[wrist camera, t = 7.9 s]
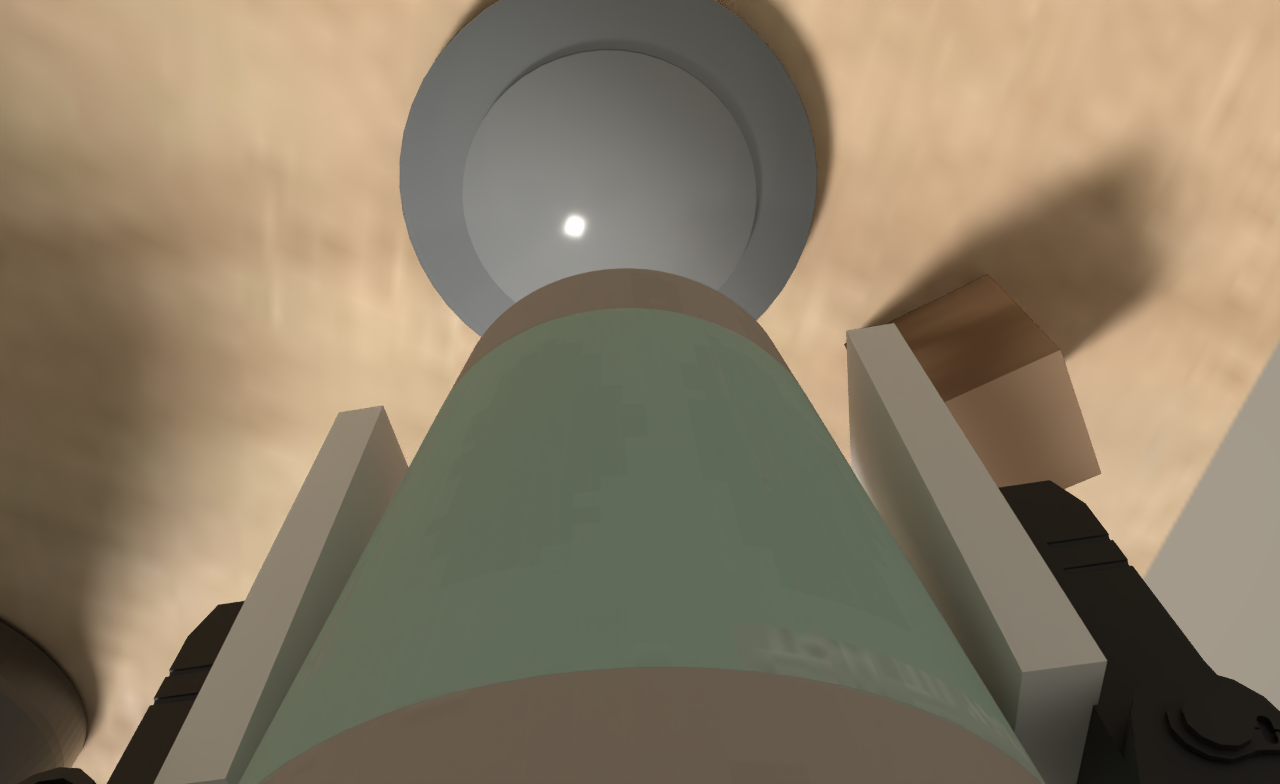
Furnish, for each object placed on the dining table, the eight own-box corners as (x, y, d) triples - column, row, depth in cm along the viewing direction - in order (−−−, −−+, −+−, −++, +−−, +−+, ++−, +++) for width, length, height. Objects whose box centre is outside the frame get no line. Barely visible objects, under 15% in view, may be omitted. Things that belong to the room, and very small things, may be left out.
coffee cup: (507, 633, 17) (361, 1717, 7) (277, 289, 13) (-970, 1855, 3) (907, 522, 16) (1432, 1663, 6) (805, 94, 11) (2279, 1760, 1)
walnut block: (894, 445, 30) (942, 538, 26) (843, 343, 27) (887, 427, 23) (1027, 385, 29) (1101, 473, 24) (987, 273, 26) (1060, 349, 22)
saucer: (470, 393, 28) (465, 411, 27) (343, 15, 21) (331, 22, 20) (820, 335, 27) (828, 351, 26) (798, -73, 21) (807, -70, 20)
